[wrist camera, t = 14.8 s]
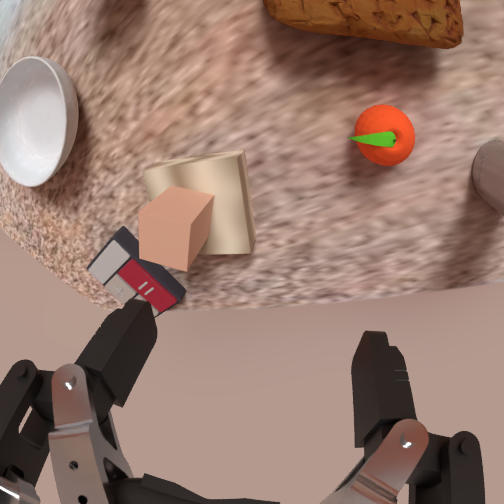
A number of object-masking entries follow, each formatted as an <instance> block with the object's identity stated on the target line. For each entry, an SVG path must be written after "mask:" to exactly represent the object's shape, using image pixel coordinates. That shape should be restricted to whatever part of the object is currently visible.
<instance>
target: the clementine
mask: <svg viewBox="0 0 504 504" xmlns="http://www.w3.org/2000/svg"><path fill="white" fill-rule="evenodd" d="M347 138H350V139H352V140H355V141H356V143H357V145H358V147H359V149H360V151H361V152H362V153H363V155H364V156H365V157H366V158H368V159H369V160H370V161H372V162H374V163H377V164H379V165H383V166H392V165H397V164H399V163H401V162H403V161H404V160H405V159H406V158H407V157H408V156H409V155H410V153H411V152H412V150H413V147H414V144H415V133H414V128H413V126H412V123H411V121H410V120H409V119H408V117H407V116H406V115H405V114H404V113H403V112H401V111H400V110H399V109H397V108H395V107H392V106H389V105H375V106H373V107H370V108H368V109H366V110H365V111H364V112H363V113H362V114H361V115H360V117H359V118H358V120H357V122H356V126H355V137H347Z"/></svg>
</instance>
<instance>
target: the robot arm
mask: <svg viewBox="0 0 504 504" xmlns="http://www.w3.org/2000/svg"><path fill="white" fill-rule="evenodd" d="M472 177H473V183H474V186H475V189H476V191H477V193H478V194H479V196H480V197H481V198H482V199H484V200H485V201H486V202H488V203H489V204H490V205H491V206H493V207H494V208H495V209H496V210H497V211H499V212H500V213H501V214H502V215H503V216H504V143H503V142H500V141H490V142H488V143H486V144H485V145H483V146H482V147H481V149H480V150H479V151H478V153H477V155H476V157H475V160H474V163H473V170H472ZM156 339H157V326H156V323H155V318H154V314H153V310H152V306H151V303H150V302H149V301H144V300H139V299H135V298H130V299H129V300H128V301H127V303H126V304H125V305H124V307H123V308H122V309H119V308H118V309H116V310H115V311H114V312H112V313H111V314H109V315H108V316H107V318H106V319H105V320H104V322H103V323H102V324H101V327H99V329H98V330H97V331H96V334H95V335H94V336H93V337H92V339H91V340H90V341H89V343H88V344H87V346H86V347H85V349H84V350H83V352H82V353H81V355H80V356H79V357H78V359H77V360H76V362H75V363H74V364H66V365H63V366H61V367H60V368H58V369H57V370H56V371H44V370H38V369H37V367H36V366H35V365H34V363H33V362H32V361H30V360H20V361H18V362H17V363H15V364H14V365H13V366H12V368H11V369H10V370H9V372H8V374H7V375H6V377H5V379H4V380H3V382H2V383H1V385H0V504H40V498H39V496H38V495H37V494H36V491H35V486H36V483H37V481H38V478H39V476H40V473H41V470H42V468H43V466H44V463H45V461H46V458H47V456H48V454H49V451H50V454H51V460H52V466H53V471H54V476H55V481H56V485H57V490H58V494H59V498H60V502H61V504H280V502H271V501H262V500H254V499H247V498H243V499H242V498H241V499H206V498H203V497H201V496H199V495H197V494H195V493H193V492H191V491H189V490H187V489H185V488H184V487H182V486H180V485H178V484H176V483H174V482H170V481H167V480H164V479H161V478H157V477H154V476H152V475H149V474H144V476H143V478H134V476H133V474H132V471H131V469H130V466H129V464H128V462H127V461H126V459H125V457H124V456H123V454H122V451H121V448H120V444H119V441H118V437H117V434H116V430H115V427H114V422H113V419H112V414H111V411H110V409H111V407H112V405H113V404H115V405H117V406H120V407H123V406H124V404H125V402H126V400H127V398H128V396H129V394H130V392H131V390H132V388H133V386H134V384H135V382H136V380H137V378H138V376H139V374H140V372H141V370H142V368H143V366H144V364H145V362H146V360H147V358H148V356H149V354H150V352H151V350H152V348H153V347H154V345H155V342H156ZM351 375H352V389H353V406H354V429H355V430H354V432H355V448H362V447H364V456H363V457H362V459H361V460H360V461H359V462H358V464H357V465H356V466H355V467H354V469H353V470H352V471H351V472H350V473H349V474H348V476H347V477H346V478H345V479H344V480H343V481H342V482H341V483H340V484H339V486H338V487H337V488H336V489H335V490H334V491H333V492H332V493H331V494H330V495H329V496H328V497H327V498H325V499H324V500H323V501H322V502H321V503H320V504H397V499H396V497H397V495H398V493H399V491H400V490H401V489H402V487H403V486H404V484H405V483H406V484H409V504H485V488H484V475H483V465H482V457H481V451H480V444H479V441H478V439H477V438H476V436H474V435H473V434H472V433H470V432H468V431H461V432H459V433H457V434H455V435H454V436H453V437H452V438H450V437H445V436H440V435H436V434H432V433H429V432H428V431H427V429H426V428H425V426H424V425H423V424H422V423H420V422H419V421H418V420H417V418H416V413H415V408H414V403H413V397H412V392H411V387H410V382H409V381H408V380H409V378H408V373H407V372H406V364H405V360H404V357H403V355H402V354H401V352H400V351H399V350H398V348H397V347H396V346H389V343H388V338H387V335H386V333H385V332H380V331H365V332H364V333H363V336H362V338H361V341H360V343H359V345H358V348H357V350H356V352H355V355H354V357H353V361H352V367H351ZM29 406H31V407H32V411H31V413H30V415H29V417H28V419H27V421H26V423H25V424H24V427H23V428H22V431H21V432H20V434H19V425H20V423H21V421H22V419H23V418H24V416H25V414H26V412H27V410H28V408H29Z"/></svg>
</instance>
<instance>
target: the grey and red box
mask: <svg viewBox="0 0 504 504" xmlns="http://www.w3.org/2000/svg"><path fill="white" fill-rule="evenodd" d="M87 270H88V271H89V272H90V273H91V274H92V275H93V276H94V277H95V278H96V279H97V280H98V281H99V282H100V283H101V284H103V285H104V286H105V288H106V289H107V290H108V291H109V292H110V293H111V294H112V295H113V296H114V297H115V298H116V299H118V300H119V301H120V302H121V303H122V304H126V303H127V301H128V300H129V299H130V298H135V299H139V300H144V301H149V302H150V303H151V306H152V310H153V314H154V318H155V317H157V316H159V315H160V314H162V313H163V312H165V311H166V310H168V309H169V308H171V307H173V306H174V305H176V304H177V303H179V302H180V301H181V300H182V298H183V296H184V293H185V291H186V289H185V288H184V287H183V286H182V285H181V284H180V283H179V282H178V281H177V280H176V279H175V278H174V277H173V276H172V275H171V274H170V273H169V272H168V271H167V270H166V269H165V268H164V267H163V266H162V265H160V264H157V263H153V262H150V261H146V260H143V259H139V241H138V240H137V239H136V238H135V237H134V236H133V235H132V234H131V233H130V232H129V231H128V229H127V228H126V227H124V226H122V227H121V228H120V229H119V230H118V231H117V232H116V233H115V234H114V235H113V237H112V238H111V239H110V240H109V241H108V242H107V244H106V245H105V246H104V247H103V248H102V249H101V251H100V252H99V253H98V254H97V256H96V257H95V258H94V259H93V260H92V262H91V263H90V264H89V265H88V267H87Z"/></svg>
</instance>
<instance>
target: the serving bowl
mask: <svg viewBox="0 0 504 504" xmlns="http://www.w3.org/2000/svg"><path fill="white" fill-rule="evenodd" d="M78 118H79V110H78V100H77V95H76V91H75V88H74V85H73V83H72V81H71V79H70V77H69V75H68V74H67V72H66V71H65V70H64V69H63V68H62V67H61V66H60V65H59V64H58V63H56V62H54V61H52V60H50V59H47V58H44V57H37V56H29V57H25V58H23V59H21V60H19V61H17V62H16V63H15V64H13V65H12V66H11V67H10V69H9V70H8V71H7V72H6V74H5V75H4V77H3V78H2V80H1V82H0V163H1V165H2V167H3V168H4V170H5V171H6V173H7V174H8V175H9V176H10V177H11V178H12V179H13V180H14V181H15V182H17V183H19V184H21V185H23V186H26V187H36V186H39V185H41V184H43V183H45V182H46V181H48V180H49V179H50V178H51V177H52V176H54V175H55V174H56V173H57V172H58V171H59V169H60V168H61V167H62V166H63V164H64V163H65V161H66V160H67V158H68V156H69V154H70V152H71V150H72V147H73V144H74V141H75V138H76V134H77V128H78Z"/></svg>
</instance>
